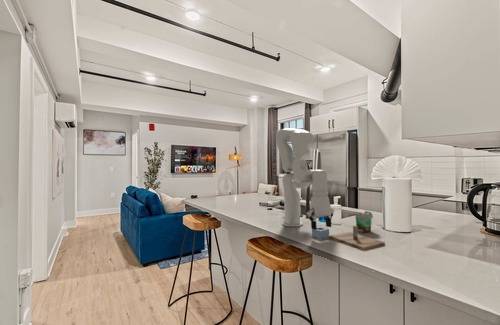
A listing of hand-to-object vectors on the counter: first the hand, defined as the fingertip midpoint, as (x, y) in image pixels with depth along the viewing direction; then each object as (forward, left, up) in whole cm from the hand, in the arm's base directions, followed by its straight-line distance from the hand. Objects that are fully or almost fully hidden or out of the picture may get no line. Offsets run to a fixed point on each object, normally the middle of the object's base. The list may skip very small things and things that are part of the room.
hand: (321, 227), depth 125 cm
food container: (+4, +28, -5) cm, 29 cm away
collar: (-1, 0, -5) cm, 5 cm away
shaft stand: (+13, +9, -5) cm, 17 cm away
